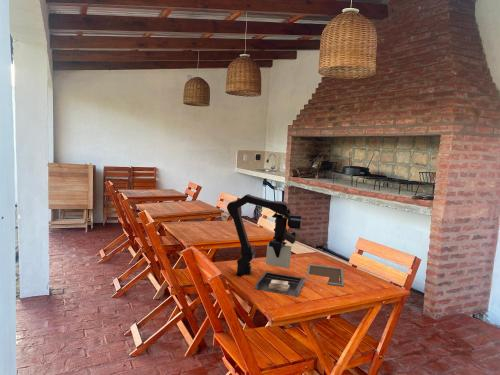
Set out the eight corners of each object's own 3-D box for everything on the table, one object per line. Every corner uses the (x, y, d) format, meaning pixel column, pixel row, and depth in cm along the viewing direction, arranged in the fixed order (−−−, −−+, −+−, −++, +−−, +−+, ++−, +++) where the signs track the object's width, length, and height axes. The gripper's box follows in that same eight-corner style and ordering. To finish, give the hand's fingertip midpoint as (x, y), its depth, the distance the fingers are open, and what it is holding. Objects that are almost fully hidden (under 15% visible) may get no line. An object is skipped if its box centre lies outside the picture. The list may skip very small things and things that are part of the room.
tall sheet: (265, 264, 202) (267, 243, 201) (266, 263, 204) (268, 242, 202) (288, 268, 198) (290, 247, 197) (289, 267, 200) (291, 246, 199)
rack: (254, 291, 184) (255, 283, 184) (265, 278, 202) (265, 270, 202) (297, 298, 179) (297, 290, 178) (304, 284, 197) (304, 277, 196)
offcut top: (270, 285, 186) (270, 282, 186) (271, 282, 190) (271, 279, 190) (287, 287, 184) (287, 284, 184) (288, 284, 189) (288, 281, 189)
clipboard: (305, 280, 201) (309, 262, 230) (305, 283, 201) (308, 265, 230) (344, 285, 197) (342, 266, 226) (343, 288, 197) (342, 269, 227)
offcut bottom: (268, 288, 186) (268, 285, 186) (271, 284, 191) (271, 281, 191) (287, 291, 184) (287, 288, 184) (289, 288, 189) (289, 284, 188)
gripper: (292, 232, 187) (289, 264, 189) (300, 225, 205) (297, 254, 207) (269, 229, 191) (267, 260, 193) (279, 222, 208) (276, 251, 210)
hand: (278, 256), depth 200 cm, fingers closed on tall sheet, 2 cm apart
